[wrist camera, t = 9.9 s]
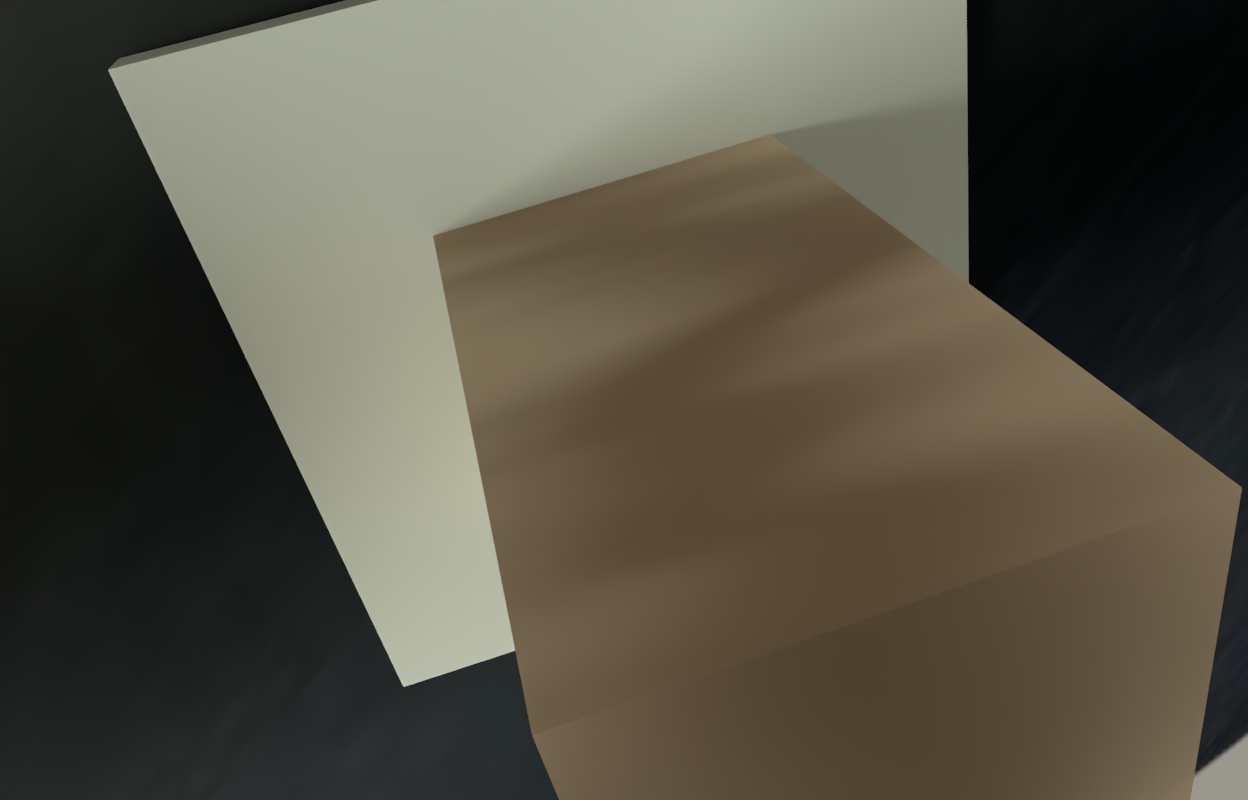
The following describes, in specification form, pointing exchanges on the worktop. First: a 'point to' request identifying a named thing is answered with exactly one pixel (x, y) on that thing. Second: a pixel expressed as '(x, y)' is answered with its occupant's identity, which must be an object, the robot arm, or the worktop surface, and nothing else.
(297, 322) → the sage mat
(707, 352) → the maple block
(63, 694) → the worktop surface
